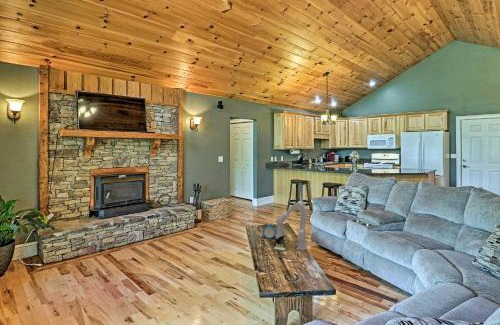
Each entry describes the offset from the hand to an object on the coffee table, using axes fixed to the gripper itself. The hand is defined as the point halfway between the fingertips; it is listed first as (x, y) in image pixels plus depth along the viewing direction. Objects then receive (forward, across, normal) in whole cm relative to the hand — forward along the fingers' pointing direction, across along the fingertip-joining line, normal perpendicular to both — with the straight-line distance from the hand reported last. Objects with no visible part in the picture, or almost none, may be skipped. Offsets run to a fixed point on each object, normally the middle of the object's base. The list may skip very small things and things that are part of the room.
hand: (279, 244), depth 273 cm
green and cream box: (+1, +10, +4) cm, 11 cm away
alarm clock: (+2, -17, -19) cm, 26 cm away
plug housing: (+1, 0, -2) cm, 2 cm away
